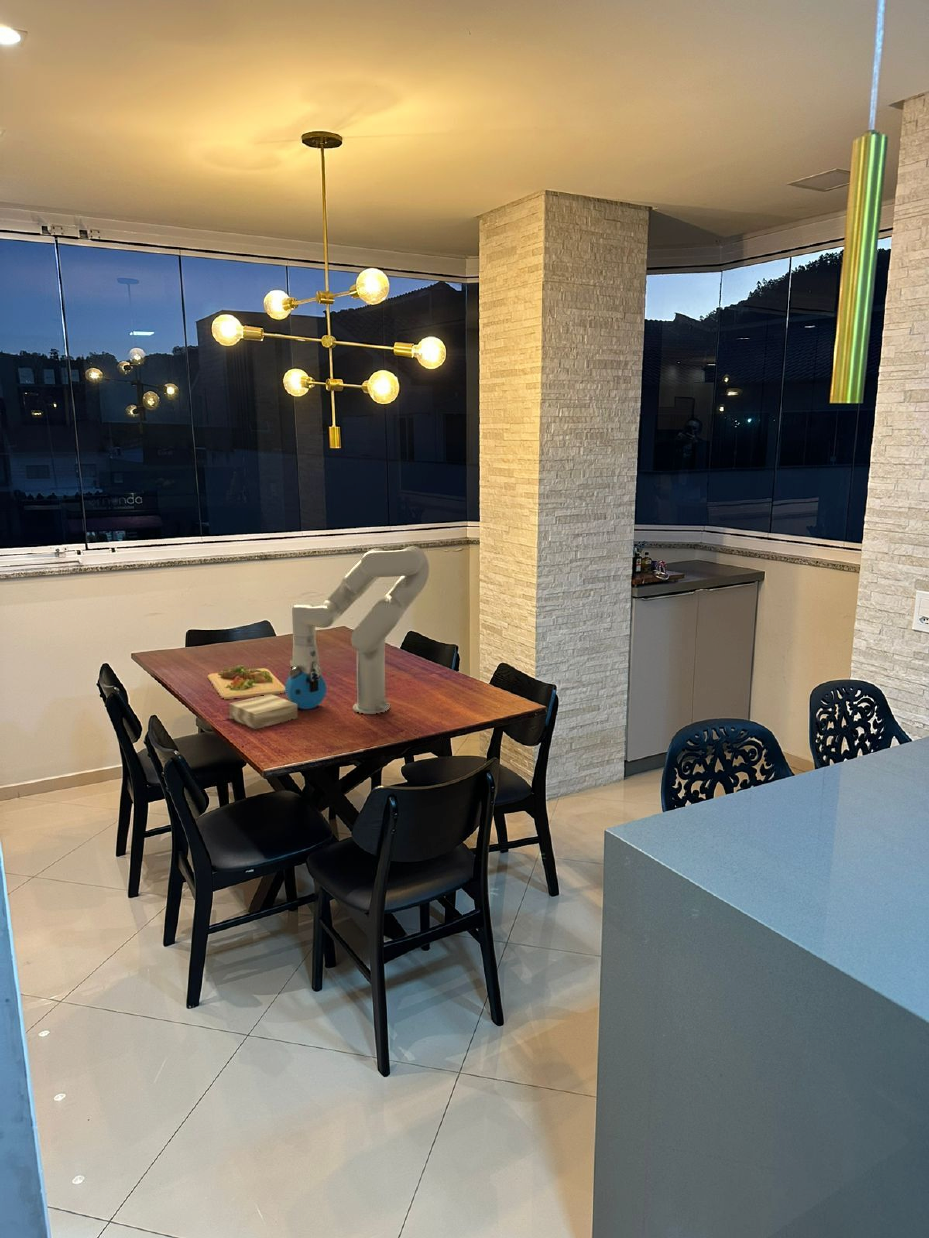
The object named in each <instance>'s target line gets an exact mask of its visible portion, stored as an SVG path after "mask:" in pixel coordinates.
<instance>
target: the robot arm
mask: <svg viewBox="0 0 929 1238" xmlns="http://www.w3.org/2000/svg"><path fill="white" fill-rule="evenodd" d="M429 573H430V565H429V561H428V558H427V555H426V553H425V551H424V550H422V549H421V548H420V547H419V546H414V545H412V546H411V545H410V546H407V547H404V548H403V549H401V550H384V549H383V548H378V547H375V548H372V549H370V550H368V551H367V552H366V553H364V554H363V555H362V557H361V558H360V560H359V561H358V562H357V563H356V564H355V565H354V567H353V568H352V569H350V571H348V572H347V574H346V575H344V576H343V578H342V580H341V582H340V584H339V586H337V588H336V589H335V590H334V591H333V592H332V593H331V594H330V596H328V597H327V599H326V600H325V601H324V602H323V603H321V604H320V605H317V606H314V605H313V604H310V603H297V604H294V605H293V606H292V609H291V614H292V615H291V617H292V620H291V621H292V645H293V646H292V659H290V660H289V665H290V670H291V669H292V668H293V667H296V666H298V667H300V668H301V670H302V672H301V673H304V674H307V675H309V678H310V680H311V681H309V684H310V692H315V691H318V680H319V677H320V676H321V674H322V673H321V670H322V668H321V667H320V658H319V650H318V647H317V644H316V643H317V641H316V640H317V639H316V628H322V629H326V628H327V629H328V628H330V627H331V626H332V625H334V624H335V622H337V621H338V620H339V619H340V617H341V616H343V614H345V612H347V610H348V609H349V608H350V607H351V606H352V605H353V604H354V602H356V600H358V599H359V598H361V597H362V596H363V595H364V594H365V593H366V592H367V591H368V590H369V588H370V587H372V586H373V585H374V583H375V582H377V581H378V579H379V578H389V577H390V578H391V577H394V578H395V577H399V578H398V580H397V581H396V582H395V583H394V584H393V586H392V587H391V588H390V589H389V590H388V591H387V593H386V594H385V595H384V596H383V597H381V598H380V599H379V600H378V601H376V603H375V604H374V605H373V606H372V608H371V609H370V610H369V611H368V612H367V614H366V615H365V616H364V617H363V619H362V620H361V621H360V622H359V623H358V624H357V625H356V627H355V628H354V629H353V630H352V633H351V637H350V638H351V639H350V640H351V645H352V646H353V648H354V650H356V697H357V699H356V701H357V702H356V703H355V704H353V705H352V710H353V711H354V712H355V713H357V712H359V713H358V714H361V713H363V714H364V715H377V714H376V713H378V714H381V713H380V712H383V713H386V712H387V710H388V709H389V708H390V707H391V703H390V702H387V700H388V699H387V697H386V686H385V685H386V673H385V672H386V671H385V669H386V668H385V665H386V662H385V661H386V660H385V659H386V658H385V652H386V651H385V650H386V638H387V637H388V635H389V634H390V633H391V632H392V631H393V630H394V628H395V627H396V626H397V625H398V623H399V622H400V620H401V619H402V618H403V616H404V614H405V612H406V611H407V610H408V609H409V607H410V606H411V605H412V604H413V602H414V601H415V600H416V598H417V597H418V596H419V595H420V594H421V592H422V591H423V589H424V587H425V586H426V584H427V581H428V579H429ZM320 668H321V669H320ZM310 671H312V672H310ZM312 674H314V676H312ZM389 710H390V709H389ZM389 710H388V711H389ZM385 711H386V712H385Z"/></svg>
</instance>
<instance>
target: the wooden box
mask: <svg viewBox="0 0 929 1238" xmlns="http://www.w3.org/2000/svg"><path fill="white" fill-rule="evenodd" d="M228 709H229V713H228V714H229V718H230V719H231V720H233V719H234V720H233V721H235V722H238V723H240V724H243V725H245V726H248V727H249V728H252V729H254V730H258V729H261V728H265V726H266V727H268V726H272V725H273V726H274V725H277V724H280V722H281V723H284V722H288V720H289V721H292V720H291V719H293V720H296V719H298V716H299V715H298V707H297V704H296V703H293V702H291V701H290V700H289V699H285V698H283V697H280V696H277V695H276V694H269V695H264V696H255V697H250V698H248V699H244V700H243V699H242V700H238V701H234V702H229V704H228Z"/></svg>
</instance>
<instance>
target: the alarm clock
mask: <svg viewBox="0 0 929 1238" xmlns="http://www.w3.org/2000/svg"><path fill="white" fill-rule="evenodd" d="M320 669H321V674H322V672H323V671H322V668H321V667H320ZM301 672H302V670H301V668H300V667H298V666H296V667H293V668H292V669H291V668H290V669H289V671H288V676H289V677H288V678H287V679H286V683H285V685H284V686H285V695H286V698H287V700H288V701H291V702H293V703H296V704H297V709H302V710H311V709H314V708H317V707H318V706H319V705H320V704H321V703H322V702H323V701H324V699H325V696H326V694H327V683H326V681H325V679H324V678H323V677H322V676H321V675H320V677H319V680H318V691H315V692H310V684H309V681H311V680H310V678H309V675H307V674H304V673H301ZM310 672H312V671H310ZM312 676H314V674H312Z"/></svg>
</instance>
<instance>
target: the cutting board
mask: <svg viewBox="0 0 929 1238" xmlns="http://www.w3.org/2000/svg"><path fill="white" fill-rule="evenodd" d="M207 679H208V681H209V680H210V681H211V682H210V681H209V682H210V684H211V685H212V684H213V685H212V687H214V690H215V691H216V692H217V694H218V693H219V694H218V695H219V697H220V696H221V697H220V699H222V698H224V699H223V700H226V699H229V700H235V699H234V698H238V699H244V698H255V697H260V695H269V694H272V695H279V694H280V693H281V694H285V693H286V692H285V685H284V684H283V683H282V682H281V681H280V680H279V679H278V678H277V676H275V675H274V674H273V673H272V672H271V670H269V669H268V668H251V669H244V665H237V666H235V668H225V669H224V670H223V671H222V670H221V671H220V672H216V673H214V672H213V673H209V674H208V675H207ZM284 692H285V693H284ZM254 696H255V697H254Z"/></svg>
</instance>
